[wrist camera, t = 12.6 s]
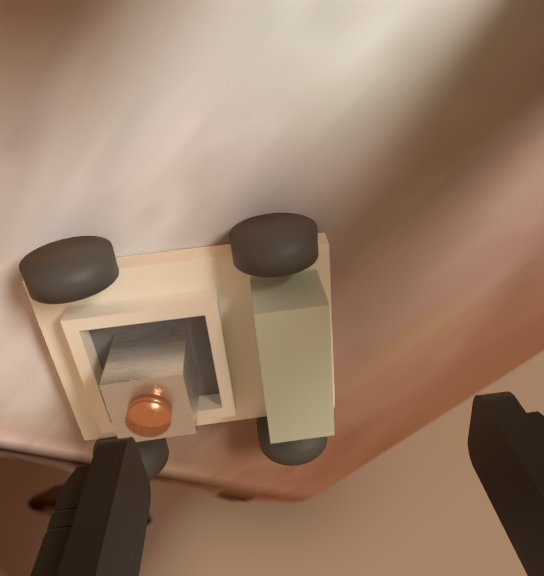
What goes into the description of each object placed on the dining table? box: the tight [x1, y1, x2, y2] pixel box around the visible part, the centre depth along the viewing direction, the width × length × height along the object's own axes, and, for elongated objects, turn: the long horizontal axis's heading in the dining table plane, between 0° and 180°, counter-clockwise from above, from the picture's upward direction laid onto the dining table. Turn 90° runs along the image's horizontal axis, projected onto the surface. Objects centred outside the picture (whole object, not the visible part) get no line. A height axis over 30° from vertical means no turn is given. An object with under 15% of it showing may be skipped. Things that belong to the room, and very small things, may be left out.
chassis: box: [19, 213, 335, 481], centre depth 39 cm, size 22×20×7 cm
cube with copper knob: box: [99, 324, 200, 442], centre depth 37 cm, size 6×6×7 cm
